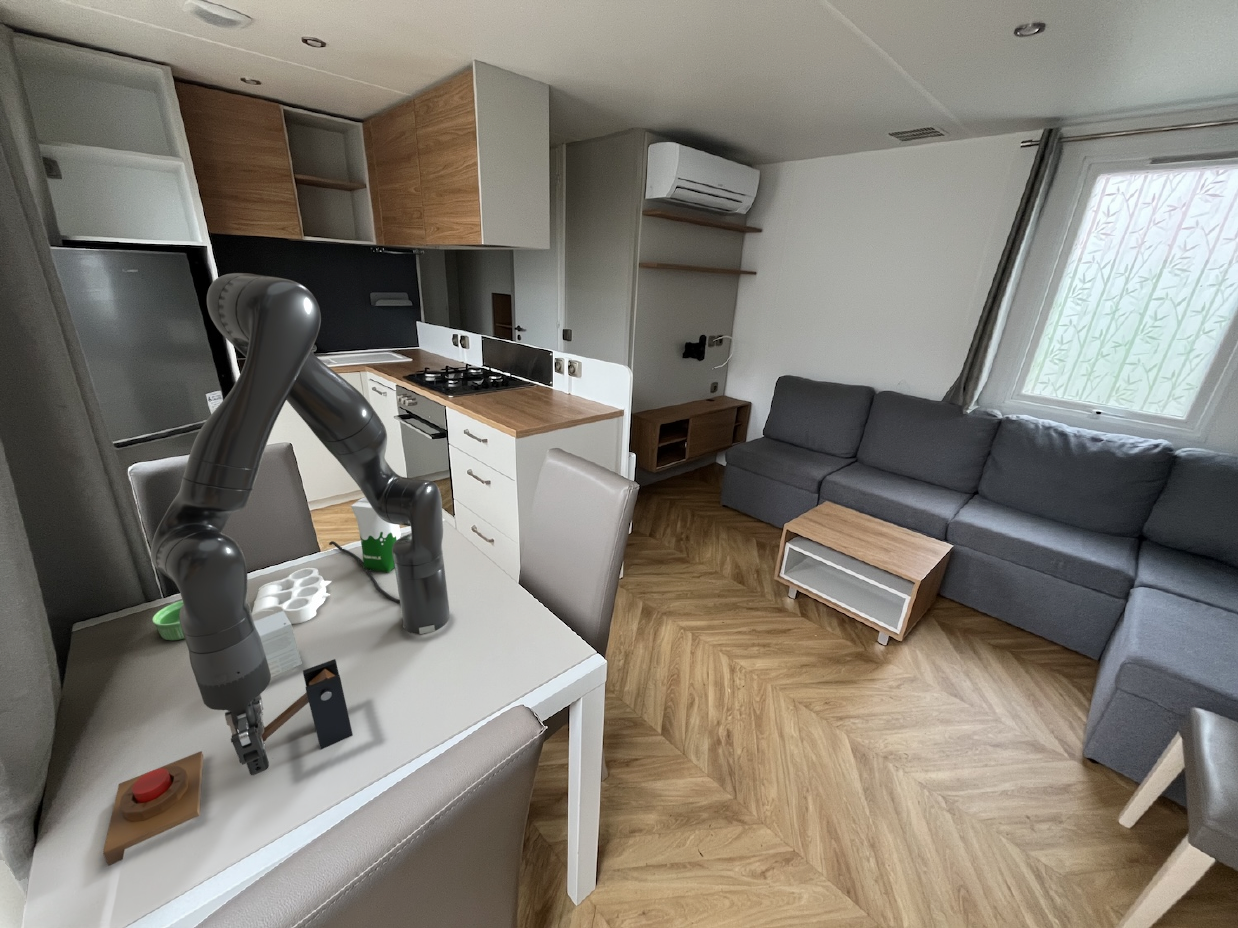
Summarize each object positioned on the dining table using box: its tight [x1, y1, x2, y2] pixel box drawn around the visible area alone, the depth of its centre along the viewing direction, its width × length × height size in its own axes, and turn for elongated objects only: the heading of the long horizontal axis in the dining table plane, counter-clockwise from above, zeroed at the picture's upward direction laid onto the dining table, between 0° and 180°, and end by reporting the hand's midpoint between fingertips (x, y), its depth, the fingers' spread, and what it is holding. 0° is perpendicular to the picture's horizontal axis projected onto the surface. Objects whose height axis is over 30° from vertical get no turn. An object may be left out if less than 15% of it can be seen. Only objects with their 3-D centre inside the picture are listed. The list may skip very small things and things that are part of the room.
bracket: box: [302, 658, 354, 750], centre depth 76 cm, size 11×9×13 cm
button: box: [132, 768, 172, 803], centre depth 66 cm, size 4×4×2 cm
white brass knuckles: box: [251, 567, 332, 625], centre depth 111 cm, size 3×18×15 cm
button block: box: [102, 750, 204, 866], centre depth 67 cm, size 11×9×4 cm
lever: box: [255, 669, 335, 742], centre depth 73 cm, size 13×5×2 cm
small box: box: [254, 611, 303, 678], centre depth 89 cm, size 8×6×10 cm
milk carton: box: [350, 496, 402, 573], centre depth 124 cm, size 9×9×20 cm
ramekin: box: [151, 599, 185, 641], centre depth 101 cm, size 9×9×4 cm
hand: (259, 755), depth 72 cm, fingers closed on lever, 5 cm apart
